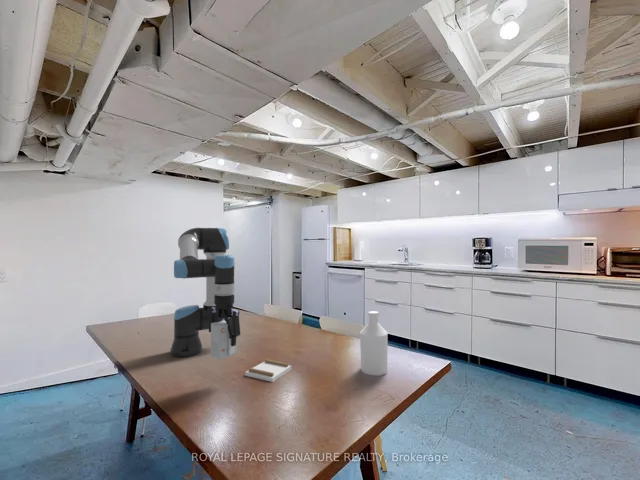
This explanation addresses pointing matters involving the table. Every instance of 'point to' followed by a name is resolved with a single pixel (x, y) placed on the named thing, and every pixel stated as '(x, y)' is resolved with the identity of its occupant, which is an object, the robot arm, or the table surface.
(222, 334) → the small box
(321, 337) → the table surface
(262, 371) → the base plate
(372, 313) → the bottle
